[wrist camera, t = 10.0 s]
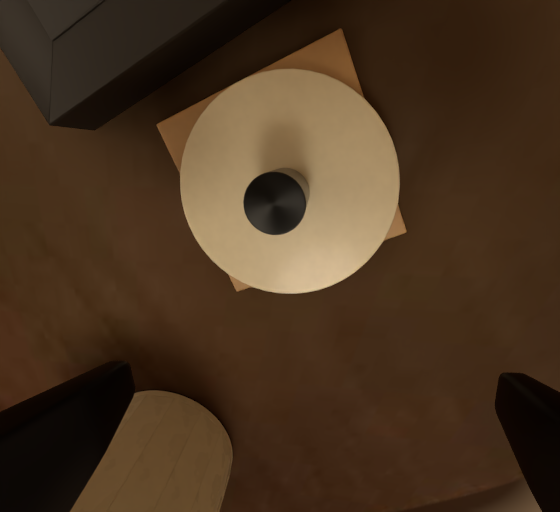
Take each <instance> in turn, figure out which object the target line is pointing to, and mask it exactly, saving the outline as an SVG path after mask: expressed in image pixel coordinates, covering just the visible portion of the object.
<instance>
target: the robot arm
mask: <svg viewBox="0 0 560 512" xmlns="http://www.w3.org/2000/svg"><path fill="white" fill-rule="evenodd" d="M134 393H135V384H134V380H133V376H132V372H131V367H130V364H129V363H128V362H127V361H110V362H108V363H105V364H103V365H101V366H99V367H97V368H94V369H92V370H90V371H88V372H86V373H84V374H81V375H79V376H77V377H75V378H73V379H71V380H68V381H66V382H64V383H62V384H60V385H58V386H55V387H53V388H51V389H49V390H47V391H45V392H42V393H40V394H38V395H36V396H34V397H32V398H29V399H27V400H25V401H23V402H21V403H19V404H16V405H14V406H12V407H10V408H8V409H5V410H3V411H1V412H0V512H70V511H71V509H72V508H73V506H74V504H75V503H76V501H77V499H78V498H79V496H80V494H81V493H82V491H83V489H84V488H85V486H86V485H87V483H88V481H89V480H90V478H91V476H92V475H93V473H94V471H95V470H96V468H97V466H98V465H99V463H100V461H101V460H102V458H103V456H104V454H105V452H106V451H107V449H108V447H109V445H110V443H111V441H112V439H113V437H114V435H115V433H116V431H117V429H118V427H119V425H120V423H121V421H122V419H123V417H124V415H125V413H126V411H127V409H128V407H129V405H130V403H131V401H132V399H133V396H134ZM495 409H496V413H497V416H498V418H499V420H500V423H501V425H502V427H503V430H504V432H505V434H506V436H507V439H508V441H509V443H510V446H511V448H512V450H513V452H514V455H515V457H516V459H517V461H518V464H519V466H520V468H521V471H522V473H523V475H524V477H525V479H526V481H527V484H528V486H529V488H530V490H531V492H532V494H533V496H534V497H535V499H536V501H537V503H538V505H539V507H540V508H541V510H542V512H560V392H558V391H556V390H554V389H552V388H550V387H548V386H546V385H545V384H543V383H541V382H539V381H537V380H535V379H533V378H531V377H529V376H527V375H525V374H523V373H502V374H501V375H500V376H499V380H498V386H497V393H496V399H495Z"/></svg>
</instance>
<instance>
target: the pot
mask: <svg viewBox="0 0 560 512" xmlns="http://www.w3.org/2000/svg"><path fill="white" fill-rule="evenodd" d="M232 459H233V451H232V445H231V441H230V439H229V436H228V434H227V432H226V430H225V428H224V427H223V425H222V424H221V423H220V421H219V420H218V419H217V418H216V417H215V416H214V415H213V414H212V413H211V412H210V411H208V410H207V409H206V408H205V407H203V406H202V405H200V404H199V403H197V402H195V401H193V400H192V399H189V398H187V397H185V396H182V395H179V394H176V393H172V392H167V391H159V390H148V391H141V392H137V393H134V396H133V399H132V401H131V403H130V405H129V407H128V409H127V411H126V413H125V415H124V417H123V419H122V421H121V423H120V425H119V427H118V429H117V431H116V433H115V435H114V437H113V439H112V441H111V443H110V445H109V447H108V449H107V451H106V452H105V454H104V456H103V458H102V460H101V461H100V463H99V465H98V466H97V468H96V470H95V471H94V473H93V475H92V476H91V478H90V480H89V481H88V483H87V485H86V486H85V488H84V489H83V491H82V493H81V494H80V496H79V498H78V499H77V501H76V503H75V504H74V506H73V508H72V509H71V511H70V512H219V511H220V507H221V504H222V501H223V497H224V494H225V490H226V487H227V483H228V480H229V476H230V473H231V465H232Z"/></svg>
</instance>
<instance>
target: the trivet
mask: <svg viewBox="0 0 560 512" xmlns="http://www.w3.org/2000/svg"><path fill="white" fill-rule="evenodd" d="M275 69H302V70H310V71H314V72H318V73H321V74H325V75H327V76H330V77H332V78H334V79H337V80H339V81H341V82H342V83H344V84H346V85H347V86H349V87H350V88H352V89H354V90H355V91H356V92H357V93H358V94H359V95H361V96H362V97H363V98H364V96H363V93H362V90H361V87H360V84H359V80H358V77H357V74H356V71H355V68H354V65H353V62H352V58H351V55H350V52H349V49H348V46H347V43H346V40H345V37H344V33H343V30H342V29H341V28H340V29H338V30H336V31H334V32H332V33H330V34H328V35H326V36H324V37H323V38H321V39H319V40H317V41H315V42H313V43H311V44H309V45H307V46H305V47H303V48H301V49H300V50H298V51H296V52H294V53H292V54H290V55H288V56H286V57H284V58H282V59H280V60H278V61H277V62H275V63H273V64H271V65H269V66H267V67H265V68H263V69H261V70H259V71H257V72H255V73H254V74H252V75H255V74H258V73H261V72H265V71H270V70H275ZM252 75H250V76H252ZM248 77H249V76H248ZM242 80H243V79H242ZM240 81H241V80H240ZM238 82H239V81H238ZM236 83H237V82H236ZM234 84H235V83H234ZM232 85H233V84H232ZM232 85H231V86H232ZM229 87H230V86H229ZM229 87H227V88H229ZM227 88H225V89H223V90H221V91H219V92H217V93H215V94H213V95H211V96H209V97H208V98H206V99H204V100H202V101H200V102H198V103H196V104H194V105H192V106H190V107H188V108H186V109H184V110H183V111H181V112H179V113H177V114H175V115H173V116H171V117H169V118H167V119H165V120H163V121H161V122H160V123H158V124H157V127H158V129H159V132H160V134H161V136H162V138H163V140H164V142H165V144H166V146H167V148H168V150H169V152H170V154H171V156H172V159H173V161H174V163H175V165H176V167H177V169H178V171H179V173H180V170H181V163H182V157H183V153H184V149H185V146H186V142H187V140H188V138H189V135H190V133H191V131H192V128H193V127H194V125H195V123H196V122H197V120H198V118H199V117H200V115H201V114H202V113H203V111H204V110H205V109H206V108H207V106H208V105H209V104H210V103H211V102H212V101H213V100H214V99H215V98H216V97H217V96H218V95H219V94H220V93H222V92H223V91H225V90H226V89H227ZM406 232H407V231H406V227H405V224H404V221H403V218H402V215H401V212H400V209H399V206H398V204H397V208H396V212H395V216H394V219H393V221H392V224H391V227H390V229H389V231H388V233H387V235H386V237H385V239H384V240H387V239H390V238H392V237H395V236H398V235H401V234H404V233H406ZM384 240H383V241H384ZM228 275H229V274H228ZM229 277H230V279H231V281H232V283H233V285H234V287H235V289H236V291H237V292H238V291H241V290H244V289H247V288H249V287H252V286H249V285H247V284H245V283H243V282H241V281H239V280H237V279H235V278H234V277H232V276H230V275H229Z"/></svg>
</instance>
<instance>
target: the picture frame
mask: <svg viewBox="0 0 560 512" xmlns="http://www.w3.org/2000/svg"><path fill="white" fill-rule="evenodd" d="M289 1H291V0H0V48H1V49H2V51H3V52H4V54H5V56H6V57H7V59H8V60H9V62H10V63H11V65H12V67H13V68H14V70H15V71H16V73H17V74H18V76H19V78H20V79H21V81H22V82H23V84H24V86H25V87H26V89H27V90H28V92H29V93H30V95H31V97H32V98H33V100H34V101H35V103H36V104H37V106H38V108H39V109H40V111H41V112H42V114H43V116H44V117H45V119H46V120H47V122H48V123H49V125H52V126H61V127H70V128H79V129H88V130H96V129H97V128H99V127H100V126H102V125H103V124H105V123H106V122H108V121H109V120H111V119H112V118H114V117H115V116H117V115H118V114H120V113H121V112H123V111H124V110H126V109H127V108H129V107H131V106H132V105H134V104H135V103H137V102H138V101H140V100H141V99H143V98H144V97H146V96H147V95H149V94H150V93H152V92H153V91H155V90H156V89H158V88H159V87H161V86H162V85H164V84H165V83H167V82H168V81H170V80H171V79H173V78H174V77H176V76H177V75H179V74H180V73H182V72H183V71H185V70H186V69H188V68H189V67H191V66H192V65H194V64H195V63H197V62H198V61H200V60H201V59H203V58H204V57H206V56H207V55H209V54H211V53H212V52H214V51H215V50H217V49H218V48H220V47H221V46H223V45H224V44H226V43H227V42H229V41H230V40H232V39H233V38H235V37H236V36H238V35H239V34H241V33H242V32H244V31H245V30H247V29H248V28H250V27H251V26H253V25H254V24H256V23H257V22H259V21H260V20H262V19H263V18H265V17H266V16H268V15H269V14H271V13H272V12H274V11H275V10H277V9H278V8H280V7H281V6H283V5H284V4H286V3H287V2H289Z"/></svg>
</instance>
